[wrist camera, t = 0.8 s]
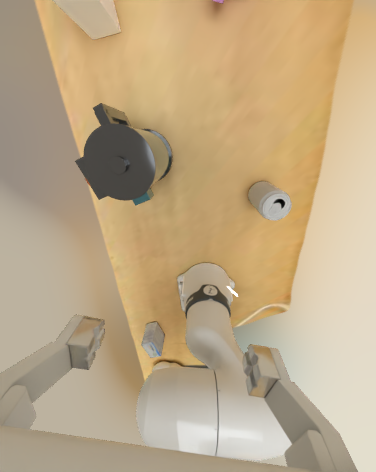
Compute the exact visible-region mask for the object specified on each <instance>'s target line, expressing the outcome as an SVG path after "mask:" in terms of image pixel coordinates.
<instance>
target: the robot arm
mask: <svg viewBox="0 0 376 472" xmlns="http://www.w3.org/2000/svg"><path fill="white" fill-rule="evenodd" d="M177 282H178V288H179V294H180V301H181V307H182V310H183V311H184V312H185V314H186V319H187V321H186V336H185V339H186V344H187V346H188V348H189V350H190V352H191V353H192V354H193V355H194V356H195V357H196V358H197V359H198V360H200V361H201V362H203V363H204V364H205V365H207V366H208V367H209V369H204V368H192V367H181V366H177V367H169V368H163V369H157V370H154V371H153V372H152V373H151V374H150V375H149V376H148V378H147V379H146V381H145V382H144V384H143V386H142V388H141V391H140V393H139V397H138V401H137V408H136V410H137V411H136V417H137V425H138V429H139V433H140V435H141V438H142V439H143V441H144V443H145V444H146V445H147V446H141V445H134V444H127V443H120V442H114V441H107V440H100V439H93V438H86V437H79V436H72V435H65V434H58V433H52V432H45V431H38V430H31V429H30V427H31V425H32V424H33V422H34V420H35V418H36V413H35V410H34V407H33V405H32V403H33V402H34V401H35V400H36V399H37V398H39V397H40V396H41V395H42V394H43V393H44V392H46V391H47V390H48V389H49V388H50V387H51V386H52V385H54V384H55V383H56V382H57V381H58V380H59V379H60V378H62V377H63V376H64V375H65V374H66V373H67V372H69V371H70V370H71V369H72V368H78V369H87V370H89V368H90V367H91V364H92V362H93V360H94V358H95V351H96V350H97V349H99V348H100V346H101V344H102V341H103V338H104V334H105V329H104V328H103V326H104V324H105V321H104V320H103V319H98V318H93V317H88V316H82V315H77V314H76V315H75V316H74V317H72V319H71V320H70V322H69V323H68V324H67V326H66V327H65V329H64V330H63V331H62V333H61V334H60V335H59V337H58V338H57V340H56V341H55V342H54V343H53V342H51V343H49V344H48V345H46V346H44V347H43V348H41V349H39V350H38V351H36V352H35V353H33V354H31V355H30V356H28V357H26V358H25V359H23V360H22V361H20V362H18V363H17V364H15V365H13V366H12V367H10V368H8V369H7V370H5V371H4V372H2V373H0V472H358V471H357V469H356V467H355V465H354V463H353V461H352V459H351V456H350V454H349V452H348V450H347V448H346V447H345V444H344V442H343V440H342V438H341V436H340V434H339V433H338V431H337V430H336V429H335V428H334V427H333V426H332V425H331V424H330V423H329V421H328V420H327V419H326V418H325V417H324V416H323V415H322V413H321V412H320V411H319V410H318V409H317V408H316V407H315V405H314V404H313V403H312V402H311V401H310V400H309V399H308V398H307V397H306V396H305V394H304V393H303V392H302V391H301V390H300V389H299V388H298V386H297V385H296V384H295V383H294V382H291V380H290V378H289V375H288V373H287V370H286V368H285V365H284V363H283V360H282V358H281V355H280V353H279V351H278V349H276V348H268V347H265V346H258V345H252V344H250V345H249V346H248V352H246V353H245V354H244V353H243V352H242V350H241V349H240V348H239V346H238V344H237V342H236V340H235V337H234V333H233V330H232V326H231V321H230V316H231V313H230V311H231V310H230V306H231V301H233V297H232V293H233V294H235V295H236V296H238V295H237V294H236V293H235V292H234V291H233V288H234V287H235V282H234V281H233V280H232V279H230V278H229V277H228V275H227V274H226V272H225V271H224V270H223V269H222V268H221V267H220V266H218V265H215V264H212V263H201V264H197V265H195V266H193V267H191V268H190V269H189V270H188V271H187V272H186V273H184V274H181V275H179V276H178V277H177ZM291 444H292V445H291ZM283 455H285V458H286V462H287V466H288V467H285V466H278V465H272V464H265V463H257V462H251V461H244V460H253V461H260V460H265V459H271V458H275V457H279V456H283ZM231 458H232V459H231ZM238 459H243V460H238Z"/></svg>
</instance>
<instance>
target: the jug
mask: <svg viewBox="0 0 376 472" xmlns="http://www.w3.org/2000/svg"><path fill="white" fill-rule="evenodd" d="M93 109H94V111H95V115H96V117H97V119H98V120H99V122H100V124H101V126H100V127H98V128H97V129H95V130H94V131H93V132H92V133H91V135H90V136H89V138H88V139H87V141H86V144H85V148H84V157H82V158H80V159H78V160H76V161H75V162H76V163H77V165H78V167H79V168H80V170H81V171H82V173H83V175H84V176H85V178H86V180H87V181H88V183H89V184H90V186H91V188H92V189H93V191H94V192H95V194H96V196H97V197H98V199H99V200H100V199H102V198H104V197H106V196H110V197H112V198H115V199H118V200H133V202H134V204H135V205H138V204H140V203H143V202H145V201H148V200H150V199H151V198H152V197H153V193H152V191H151V188H150V187H151V186H152V185H153V184H154V183H156V182H157V181H158V180H160V179H162V178H163V177H164V176H165V175H166V174H167V173H168V172H169V170H170V168H171V165H172V158H173V156H172V150H171V147H170V145H169V143H168V141H167V140H166V139H165V138H164V137H163V136H162V135H161V134H160V133H158V132H156V131H154V130H150V129H137V128H132V127H131V125H130V123H129V121H128V119H127V116H126V115H125V113H124V112H122V111H119V110H117V109H114V108H112V107H110V106H107V105H105V104H102V103H100V104H99V105H97V106H95V107H93Z"/></svg>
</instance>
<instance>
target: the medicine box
mask: <svg viewBox="0 0 376 472" xmlns="http://www.w3.org/2000/svg"><path fill="white" fill-rule="evenodd" d="M164 336H165V334H164V333H163V331H162V330H161V328H160V326H159V325H158V323H157V322H153V323H149V324H147V325H146V329H145V332H144V336H143V340H142V344H141V345H142V346H143V348H144V349H145V351H146V352H147V353H148V355H149V356H150V358H152V357H158V356H161V354H162V348H163V342H164Z"/></svg>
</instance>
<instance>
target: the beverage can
mask: <svg viewBox="0 0 376 472" xmlns="http://www.w3.org/2000/svg"><path fill="white" fill-rule="evenodd" d="M248 198H249V201H250V202H251V203H252V205H253V206H254V207H255V208H256V209H257V210H258V212H259V213H260V214H261V215H262V216H263V217H264V218H266V219H269V220H279V219H282V218H283V217H285V216H286V215H287V214H288V213H289V211H290V209H291V200H290V197H289V196H288V194H287V193H285V192H284V191H282V190H280V189H279V188H277V187H275V186H274V185H272V184H270V183H268V182H266V181H260V182H257V183H255V184H254V185H253V186H252V187H251V188H250V190H249V193H248Z"/></svg>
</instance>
